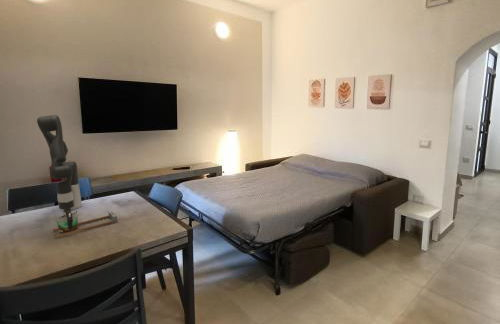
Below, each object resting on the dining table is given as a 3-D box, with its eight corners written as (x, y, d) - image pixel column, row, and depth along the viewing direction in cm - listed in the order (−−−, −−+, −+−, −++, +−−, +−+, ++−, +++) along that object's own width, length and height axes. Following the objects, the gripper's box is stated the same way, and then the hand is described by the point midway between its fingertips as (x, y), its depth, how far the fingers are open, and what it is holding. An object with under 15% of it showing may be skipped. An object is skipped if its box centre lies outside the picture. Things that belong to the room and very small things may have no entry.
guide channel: (53, 231, 166) (51, 225, 165) (112, 216, 187) (111, 211, 186) (55, 238, 157) (54, 231, 157) (117, 222, 178) (116, 216, 177)
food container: (60, 236, 160) (58, 219, 158) (56, 233, 164) (54, 217, 162) (84, 228, 170) (81, 212, 167) (79, 225, 173) (77, 210, 171)
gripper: (56, 197, 166) (60, 224, 169) (60, 204, 155) (64, 233, 159) (71, 194, 170) (74, 220, 174) (75, 201, 160) (79, 229, 164)
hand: (69, 226), depth 167 cm, fingers closed on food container, 5 cm apart
